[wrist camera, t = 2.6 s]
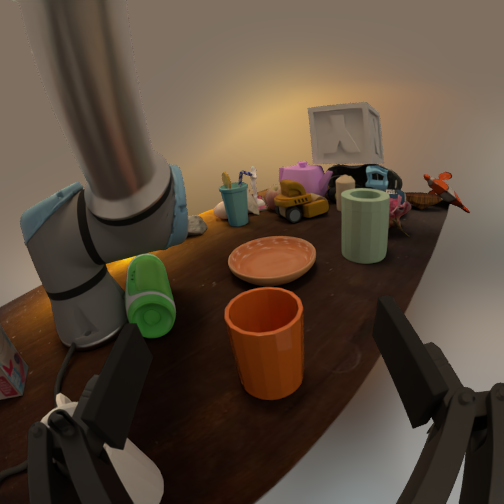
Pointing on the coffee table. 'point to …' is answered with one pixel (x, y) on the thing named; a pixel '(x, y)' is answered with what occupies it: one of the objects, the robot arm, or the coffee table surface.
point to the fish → (444, 190)
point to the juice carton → (11, 369)
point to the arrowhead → (252, 203)
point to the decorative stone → (196, 225)
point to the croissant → (422, 199)
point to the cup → (235, 199)
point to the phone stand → (376, 183)
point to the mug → (127, 464)
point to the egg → (220, 211)
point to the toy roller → (298, 202)
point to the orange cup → (267, 341)
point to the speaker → (149, 296)
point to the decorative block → (345, 134)
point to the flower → (397, 212)
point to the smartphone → (261, 208)
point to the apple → (272, 195)
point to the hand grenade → (332, 193)
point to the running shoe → (363, 176)
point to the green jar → (365, 224)
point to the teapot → (307, 177)
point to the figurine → (253, 184)
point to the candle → (343, 188)
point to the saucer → (272, 260)
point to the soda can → (394, 194)
